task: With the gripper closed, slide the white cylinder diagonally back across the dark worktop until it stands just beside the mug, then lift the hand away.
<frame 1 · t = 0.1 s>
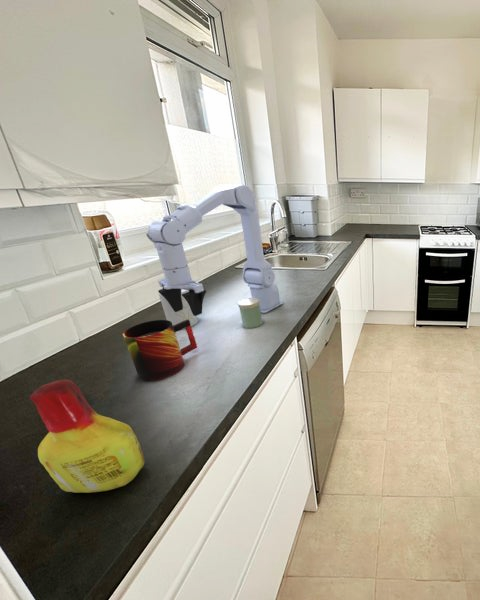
hand: (188, 312, 89), 10 cm above the countertop, tool pointing down, fingers open, 7 cm apart
tea tin: (253, 323, 105), on the countertop
bottle: (107, 482, 51), on the countertop
mug: (167, 365, 82), on the countertop
white cylinder: (183, 324, 105), on the countertop
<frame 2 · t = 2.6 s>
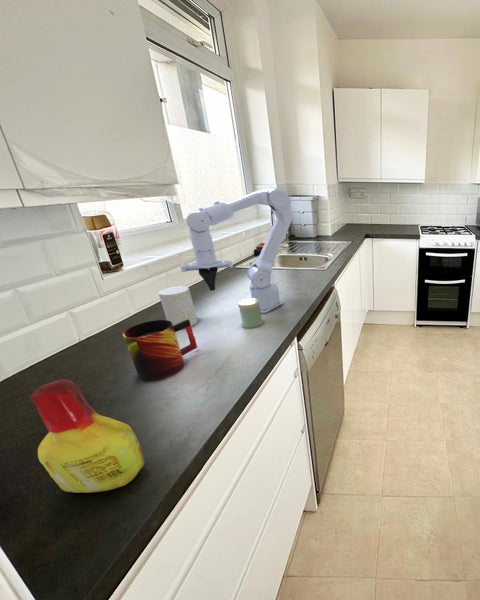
hand: (212, 289, 106), 10 cm above the countertop, tool pointing down, fingers closed
nothing on the countertop moved.
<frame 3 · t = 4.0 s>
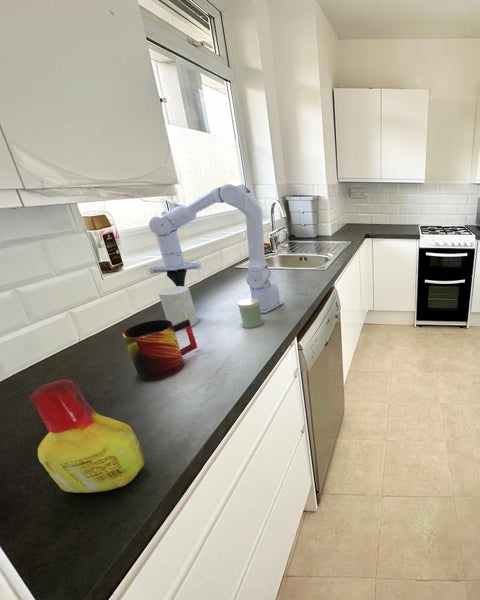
hand: (182, 290, 110), 9 cm above the countertop, tool pointing down, fingers closed
nothing on the countertop moved.
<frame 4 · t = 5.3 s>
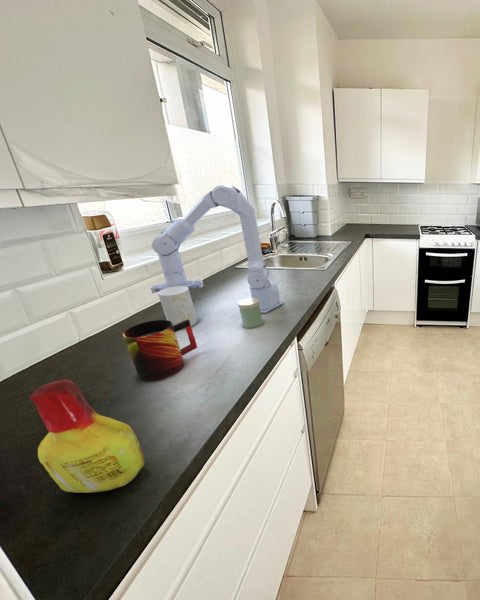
hand: (184, 308, 109), 3 cm above the countertop, tool pointing down, fingers closed, pressing on white cylinder
white cylinder: (183, 323, 105), on the countertop, touching gripper
everything else where it was.
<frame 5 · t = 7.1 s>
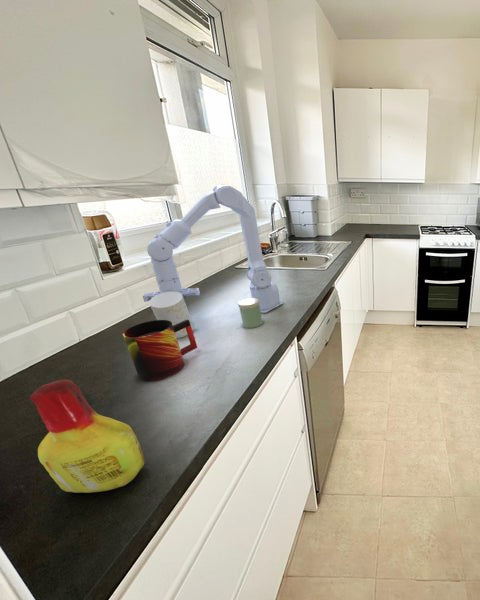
hand: (178, 318, 102), 3 cm above the countertop, tool pointing down, fingers closed, pressing on white cylinder
white cylinder: (179, 330, 99), point 1 cm above the countertop, touching gripper
everything else where it was.
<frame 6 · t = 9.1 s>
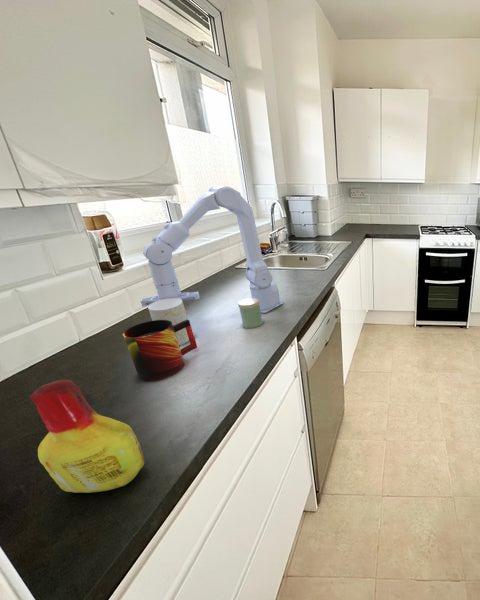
hand: (178, 322, 99), 3 cm above the countertop, tool pointing down, fingers closed, pressing on white cylinder
white cylinder: (177, 339, 95), on the countertop, touching gripper
everything else where it was.
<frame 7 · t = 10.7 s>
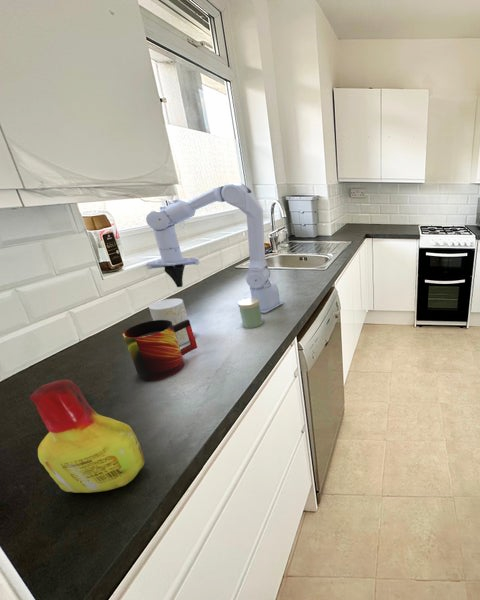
hand: (180, 286, 109), 10 cm above the countertop, tool pointing down, fingers closed
white cylinder: (177, 340, 95), on the countertop
everything else where it was.
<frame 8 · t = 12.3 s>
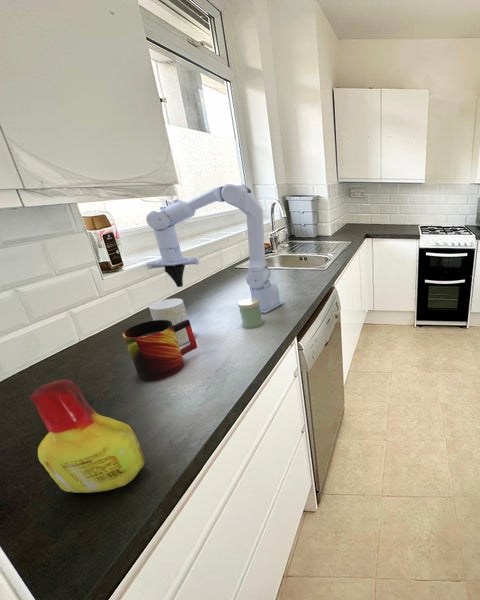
hand: (180, 286, 109), 10 cm above the countertop, tool pointing down, fingers closed
nothing on the countertop moved.
at the end: white cylinder 14.7 cm from the mug (horizontally); white cylinder moved 12.1 cm from its start; white cylinder tilted 0° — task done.
